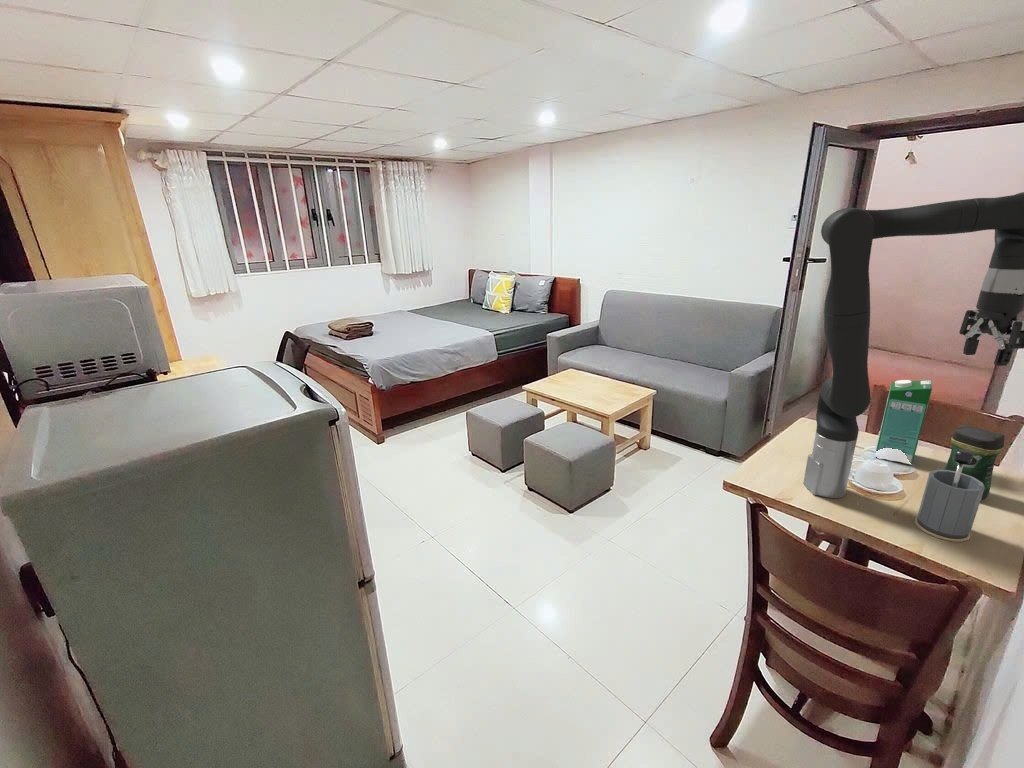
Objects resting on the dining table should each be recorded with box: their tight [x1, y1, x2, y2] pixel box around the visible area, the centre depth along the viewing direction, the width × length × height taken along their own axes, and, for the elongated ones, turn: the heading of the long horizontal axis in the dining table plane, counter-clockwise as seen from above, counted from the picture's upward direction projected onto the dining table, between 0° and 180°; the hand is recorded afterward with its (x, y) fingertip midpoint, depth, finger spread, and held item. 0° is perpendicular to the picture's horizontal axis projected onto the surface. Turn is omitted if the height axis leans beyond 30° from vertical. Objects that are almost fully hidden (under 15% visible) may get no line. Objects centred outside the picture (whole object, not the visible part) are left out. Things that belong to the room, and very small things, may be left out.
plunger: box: [952, 449, 974, 487], centre depth 109 cm, size 7×7×19 cm
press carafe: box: [914, 469, 985, 543], centre depth 111 cm, size 10×10×14 cm
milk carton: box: [875, 379, 933, 465], centre depth 142 cm, size 9×9×25 cm
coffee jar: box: [943, 424, 1005, 500], centre depth 124 cm, size 10×8×19 cm
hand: (984, 359), depth 107 cm, fingers open, 8 cm apart
